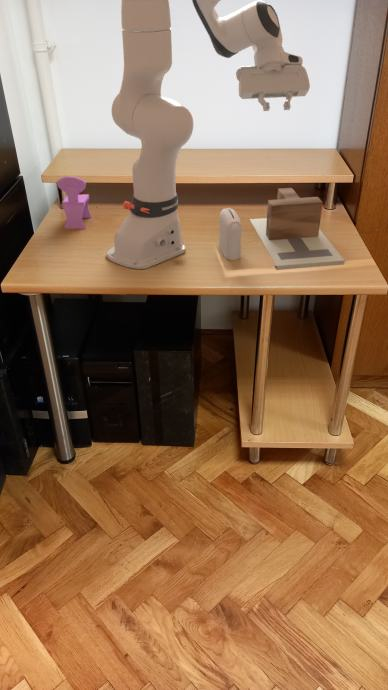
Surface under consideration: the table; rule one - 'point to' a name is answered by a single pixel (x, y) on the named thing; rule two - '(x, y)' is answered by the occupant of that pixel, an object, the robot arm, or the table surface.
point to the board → (298, 250)
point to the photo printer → (230, 234)
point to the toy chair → (74, 201)
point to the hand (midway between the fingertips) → (277, 109)
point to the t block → (293, 216)
